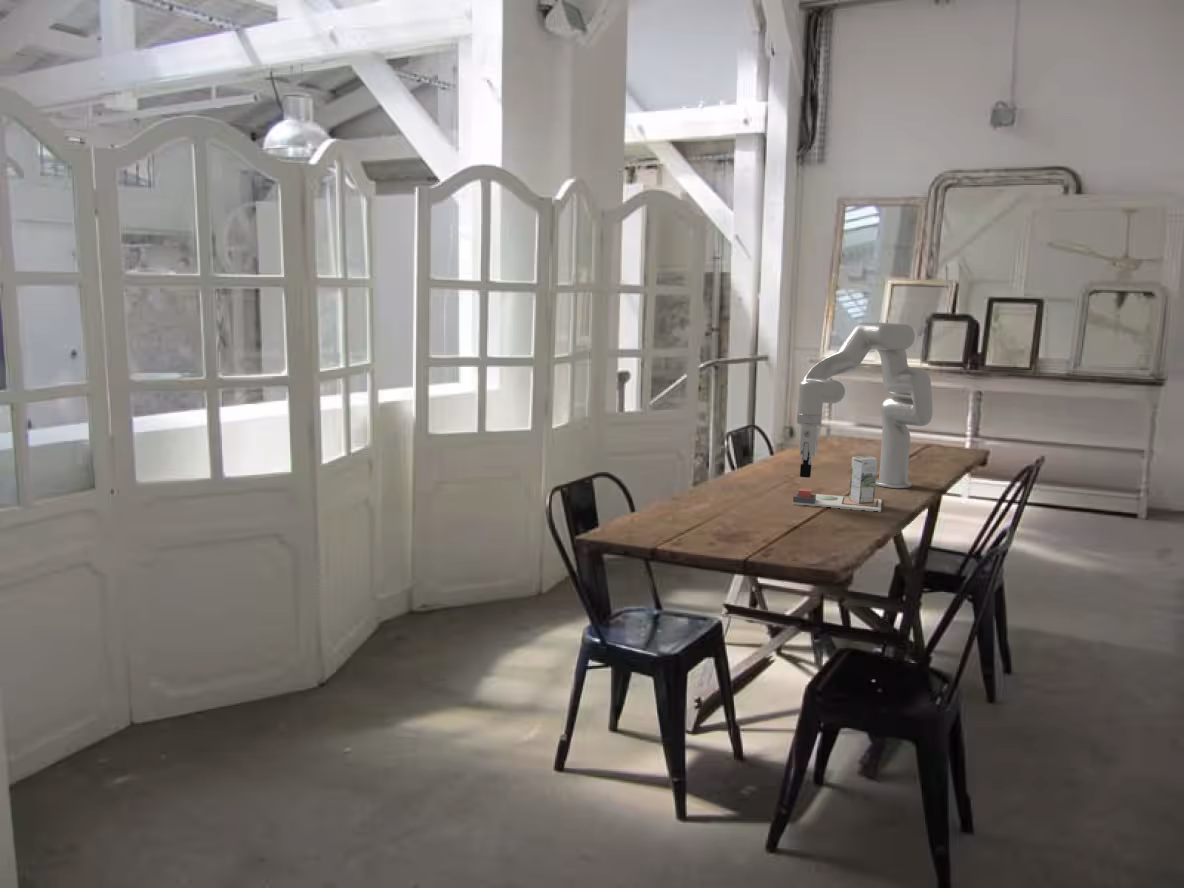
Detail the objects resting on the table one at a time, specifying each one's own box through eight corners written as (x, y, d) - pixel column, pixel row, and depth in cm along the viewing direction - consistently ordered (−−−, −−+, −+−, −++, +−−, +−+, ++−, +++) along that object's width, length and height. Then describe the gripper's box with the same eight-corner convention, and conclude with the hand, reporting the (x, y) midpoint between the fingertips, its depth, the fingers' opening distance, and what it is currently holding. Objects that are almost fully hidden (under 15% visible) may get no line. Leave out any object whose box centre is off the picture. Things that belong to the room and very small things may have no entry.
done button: (799, 494, 315) (799, 488, 315) (811, 495, 314) (812, 489, 314) (797, 496, 311) (798, 490, 311) (810, 497, 310) (811, 491, 310)
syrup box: (863, 499, 317) (866, 455, 315) (874, 503, 312) (877, 458, 309) (848, 500, 315) (851, 455, 313) (859, 504, 310) (862, 458, 307)
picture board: (796, 494, 326) (797, 487, 325) (881, 501, 318) (881, 493, 318) (792, 504, 311) (792, 496, 310) (880, 512, 303) (881, 503, 303)
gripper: (819, 423, 301) (815, 481, 303) (822, 418, 315) (818, 474, 317) (794, 421, 303) (790, 479, 305) (799, 416, 317) (795, 472, 320)
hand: (805, 476), depth 311 cm, fingers closed
